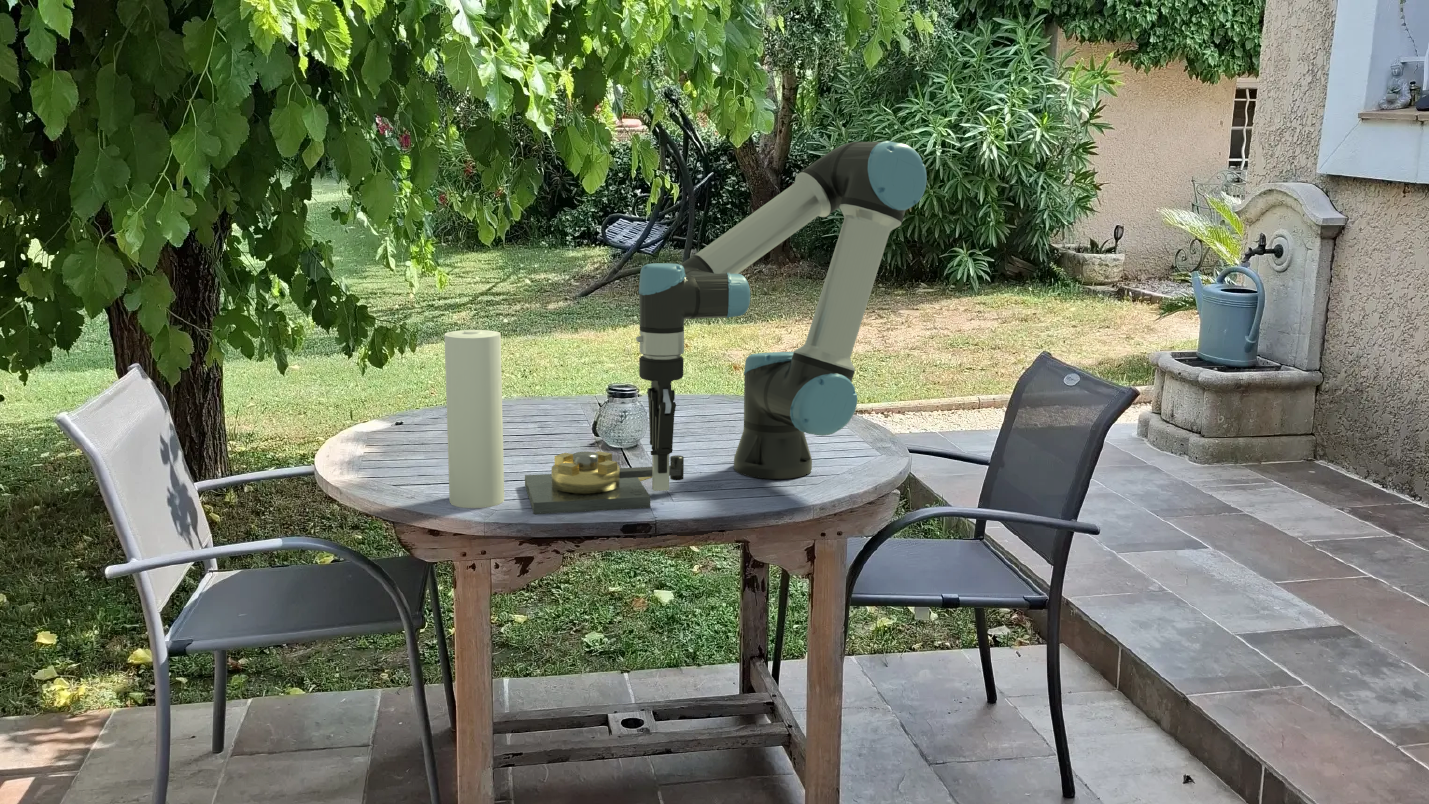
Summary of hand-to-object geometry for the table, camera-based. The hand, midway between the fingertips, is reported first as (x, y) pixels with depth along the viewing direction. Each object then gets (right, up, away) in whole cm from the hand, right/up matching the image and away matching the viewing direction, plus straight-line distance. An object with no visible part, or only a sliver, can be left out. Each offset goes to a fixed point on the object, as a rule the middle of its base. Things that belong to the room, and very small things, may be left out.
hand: (660, 489), depth 212 cm
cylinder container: (-32, -2, +2) cm, 32 cm away
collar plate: (-12, -1, +7) cm, 14 cm away
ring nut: (-8, +1, +6) cm, 10 cm away
